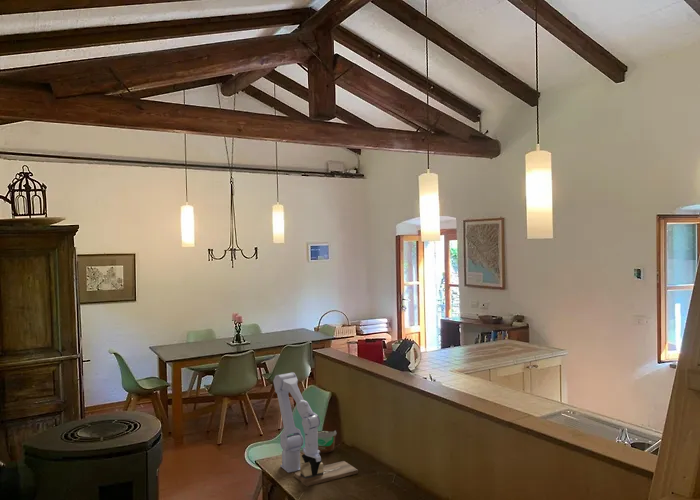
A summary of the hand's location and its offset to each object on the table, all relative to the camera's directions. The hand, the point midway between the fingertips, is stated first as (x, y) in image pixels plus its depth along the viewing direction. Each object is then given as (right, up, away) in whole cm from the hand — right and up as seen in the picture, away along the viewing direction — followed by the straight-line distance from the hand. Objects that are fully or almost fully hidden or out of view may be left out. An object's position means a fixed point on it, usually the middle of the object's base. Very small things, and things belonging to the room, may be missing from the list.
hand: (311, 472), depth 243 cm
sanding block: (0, -1, 0) cm, 1 cm away
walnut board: (+6, -2, +4) cm, 8 cm away
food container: (+4, -3, +34) cm, 34 cm away
